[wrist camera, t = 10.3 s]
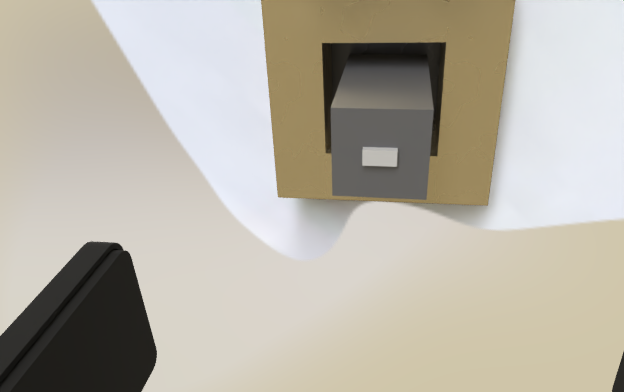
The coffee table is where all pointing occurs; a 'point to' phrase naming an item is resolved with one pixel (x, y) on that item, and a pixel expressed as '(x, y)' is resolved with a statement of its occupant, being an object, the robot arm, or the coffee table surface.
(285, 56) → the socket plate
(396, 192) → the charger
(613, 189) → the coffee table surface
